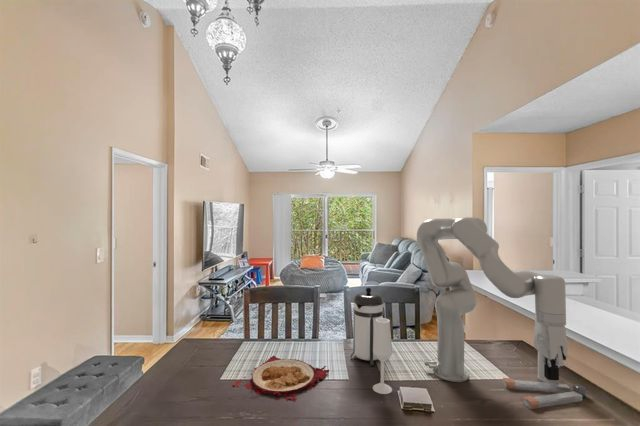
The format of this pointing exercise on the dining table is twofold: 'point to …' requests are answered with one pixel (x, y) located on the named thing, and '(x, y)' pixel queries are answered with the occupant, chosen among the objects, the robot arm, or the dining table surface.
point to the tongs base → (542, 386)
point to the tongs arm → (551, 399)
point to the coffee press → (366, 324)
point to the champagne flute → (382, 350)
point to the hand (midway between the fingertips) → (551, 378)
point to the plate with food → (284, 377)
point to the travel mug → (541, 371)
